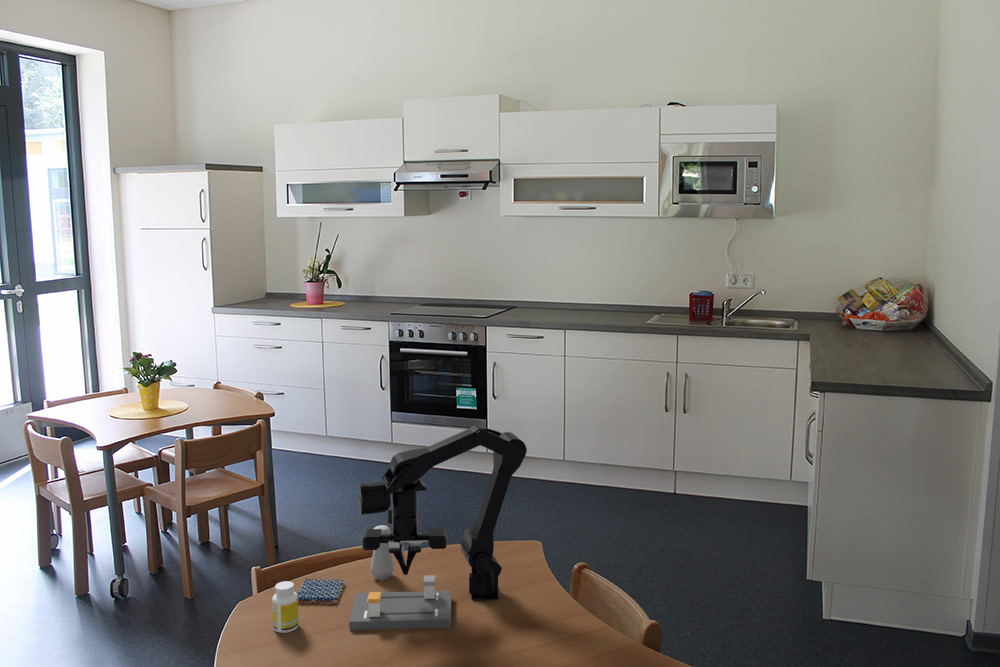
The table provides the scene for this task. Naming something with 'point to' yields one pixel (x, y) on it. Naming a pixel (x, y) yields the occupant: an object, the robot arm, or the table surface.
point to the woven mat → (320, 591)
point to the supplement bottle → (285, 608)
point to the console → (403, 611)
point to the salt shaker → (382, 559)
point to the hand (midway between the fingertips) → (405, 574)
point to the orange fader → (374, 604)
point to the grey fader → (429, 587)
